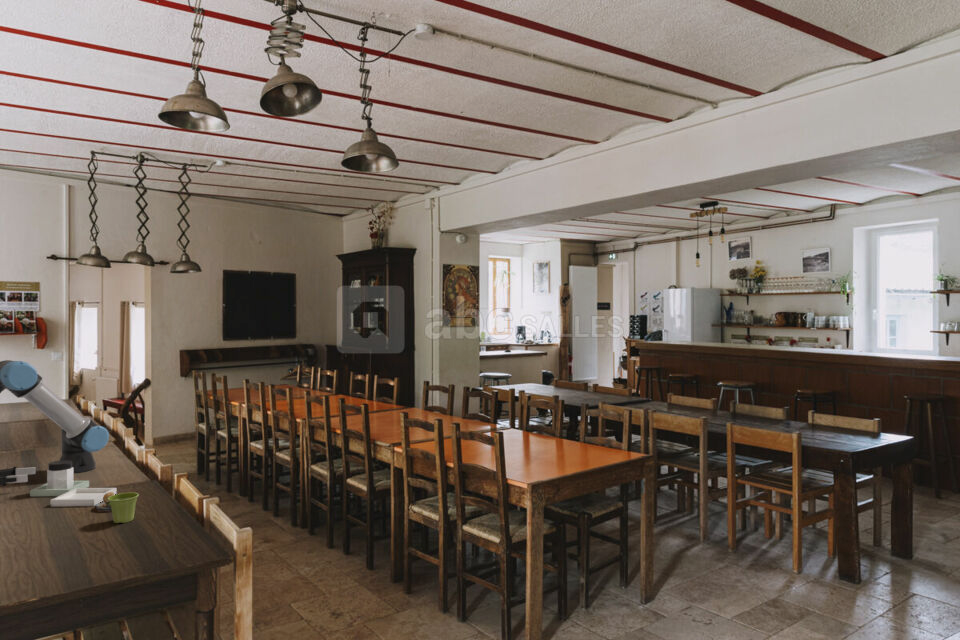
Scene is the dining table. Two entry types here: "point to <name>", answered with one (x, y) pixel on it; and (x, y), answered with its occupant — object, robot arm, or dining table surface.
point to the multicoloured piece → (104, 504)
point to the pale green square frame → (57, 492)
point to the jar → (60, 475)
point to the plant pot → (123, 506)
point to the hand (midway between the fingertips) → (31, 474)
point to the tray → (82, 497)
